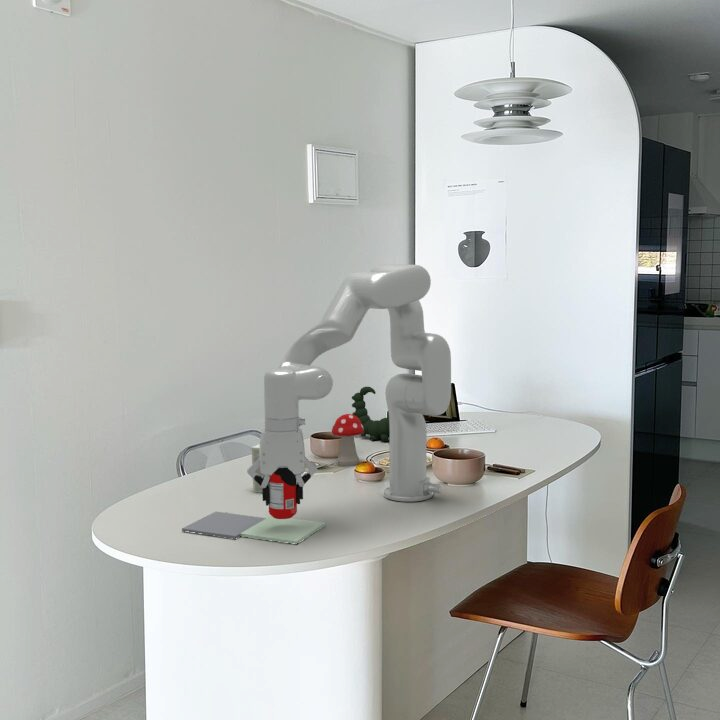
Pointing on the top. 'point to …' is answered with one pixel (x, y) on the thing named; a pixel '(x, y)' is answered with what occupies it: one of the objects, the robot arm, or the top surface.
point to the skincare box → (254, 458)
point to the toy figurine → (370, 427)
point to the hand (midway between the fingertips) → (282, 502)
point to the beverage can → (282, 493)
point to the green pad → (282, 530)
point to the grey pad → (223, 524)
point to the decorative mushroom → (347, 438)
